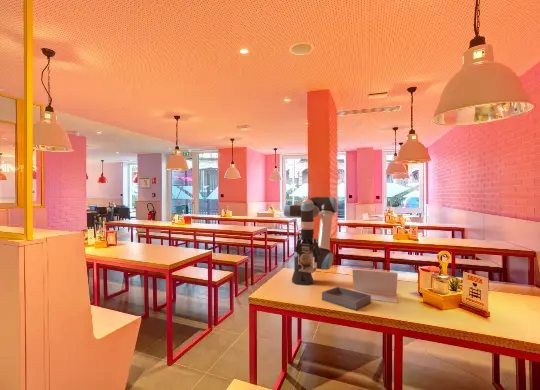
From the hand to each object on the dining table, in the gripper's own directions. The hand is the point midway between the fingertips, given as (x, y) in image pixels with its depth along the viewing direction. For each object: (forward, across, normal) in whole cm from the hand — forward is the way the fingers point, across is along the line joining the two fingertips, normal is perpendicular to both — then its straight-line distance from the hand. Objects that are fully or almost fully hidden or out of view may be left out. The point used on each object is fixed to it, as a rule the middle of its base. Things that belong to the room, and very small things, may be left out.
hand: (307, 266), depth 164 cm
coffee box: (+3, 0, 0) cm, 3 cm away
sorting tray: (+19, +18, +13) cm, 29 cm away
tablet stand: (+20, +24, +34) cm, 47 cm away
